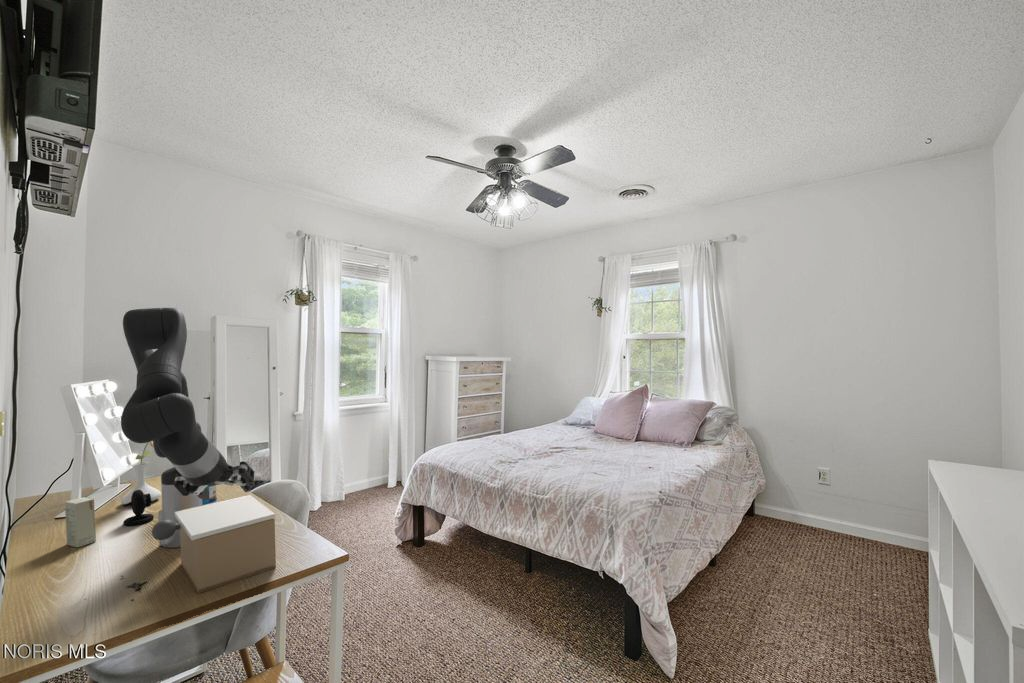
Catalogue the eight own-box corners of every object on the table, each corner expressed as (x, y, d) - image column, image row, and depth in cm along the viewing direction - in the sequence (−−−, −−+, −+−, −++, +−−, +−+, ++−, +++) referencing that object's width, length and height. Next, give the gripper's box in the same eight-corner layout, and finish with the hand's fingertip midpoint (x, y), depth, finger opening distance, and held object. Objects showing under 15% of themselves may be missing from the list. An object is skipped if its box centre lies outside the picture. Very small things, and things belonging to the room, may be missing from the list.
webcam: (156, 521, 145) (155, 489, 145) (125, 528, 139) (124, 496, 139) (150, 515, 150) (150, 484, 150) (121, 522, 144) (120, 490, 144)
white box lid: (159, 557, 96) (158, 536, 96) (146, 529, 111) (145, 511, 111) (275, 524, 112) (274, 506, 112) (250, 504, 127) (249, 488, 127)
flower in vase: (144, 507, 157) (142, 434, 157) (111, 508, 157) (109, 435, 157) (173, 494, 170) (171, 427, 170) (142, 495, 170) (140, 428, 170)
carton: (198, 593, 101) (196, 539, 101) (181, 563, 116) (179, 516, 116) (275, 567, 113) (274, 518, 113) (251, 543, 127) (250, 499, 127)
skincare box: (96, 541, 130) (95, 498, 130) (77, 548, 126) (76, 504, 126) (85, 538, 133) (83, 496, 133) (65, 544, 129) (64, 501, 129)
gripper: (238, 437, 99) (262, 471, 111) (162, 450, 95) (196, 484, 108) (234, 469, 94) (259, 500, 106) (154, 484, 91) (190, 515, 103)
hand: (227, 492), depth 107 cm, fingers open, 8 cm apart
